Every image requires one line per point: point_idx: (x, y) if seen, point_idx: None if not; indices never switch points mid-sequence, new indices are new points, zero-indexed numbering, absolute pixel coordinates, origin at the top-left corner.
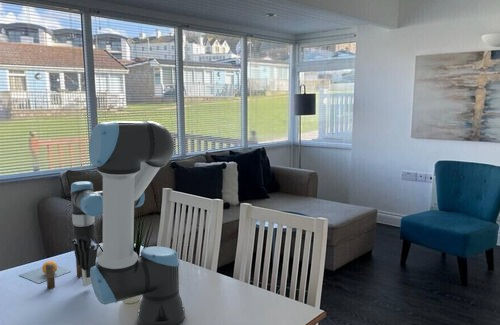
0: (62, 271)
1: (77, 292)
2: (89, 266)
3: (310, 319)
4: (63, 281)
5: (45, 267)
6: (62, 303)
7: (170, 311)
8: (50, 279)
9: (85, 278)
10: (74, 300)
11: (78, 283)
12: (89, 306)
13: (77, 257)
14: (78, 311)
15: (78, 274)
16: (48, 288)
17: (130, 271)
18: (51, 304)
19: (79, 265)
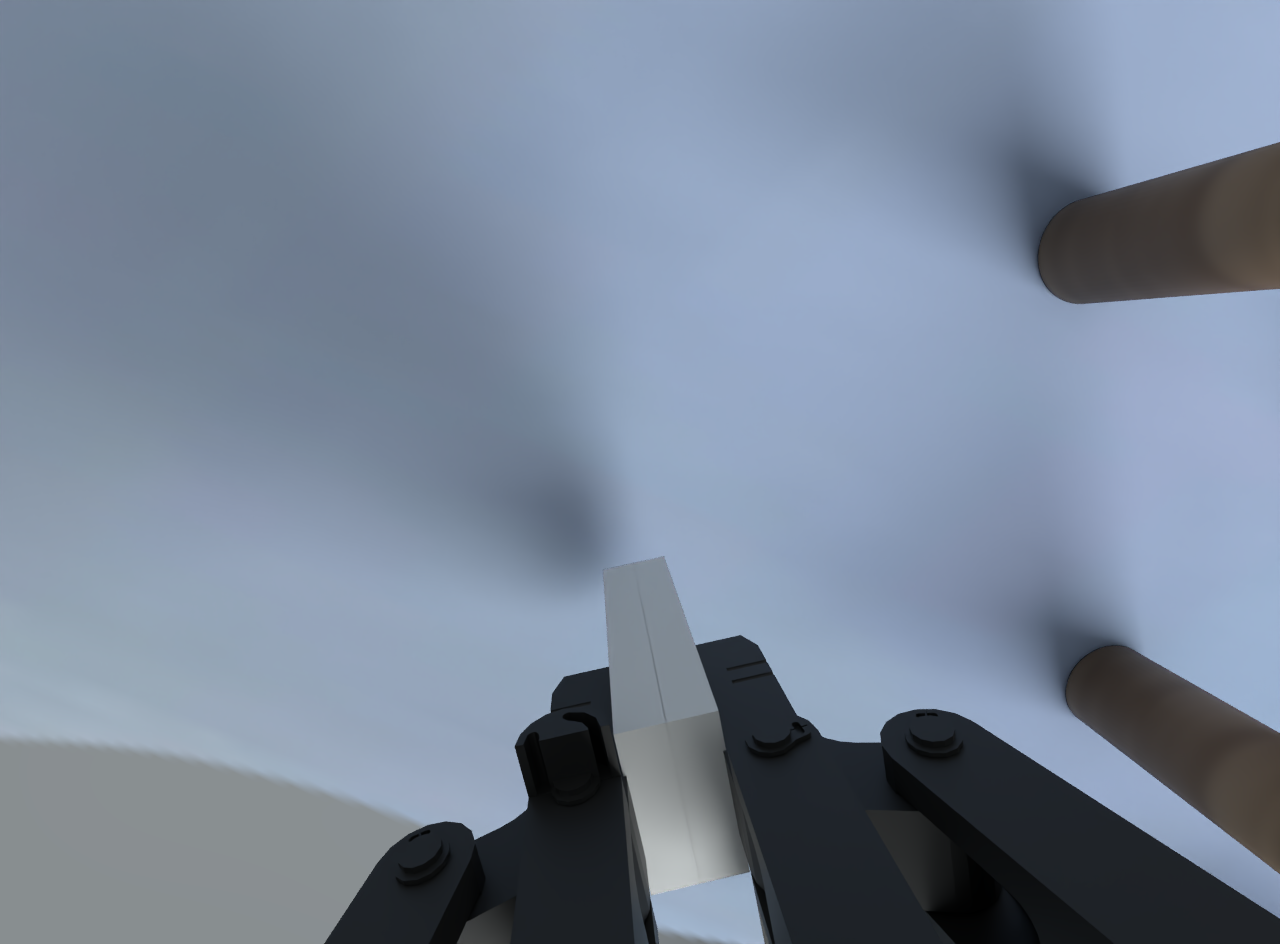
0: None
1: (653, 453)
2: (365, 909)
3: None
4: (1129, 458)
5: None
6: (459, 148)
7: None
8: (1174, 199)
9: (608, 637)
10: (434, 317)
11: (911, 576)
12: (99, 390)
13: (1114, 926)
14: (37, 207)
15: (1119, 673)
16: (1077, 202)
17: None
18: (542, 9)
19: (1239, 778)
